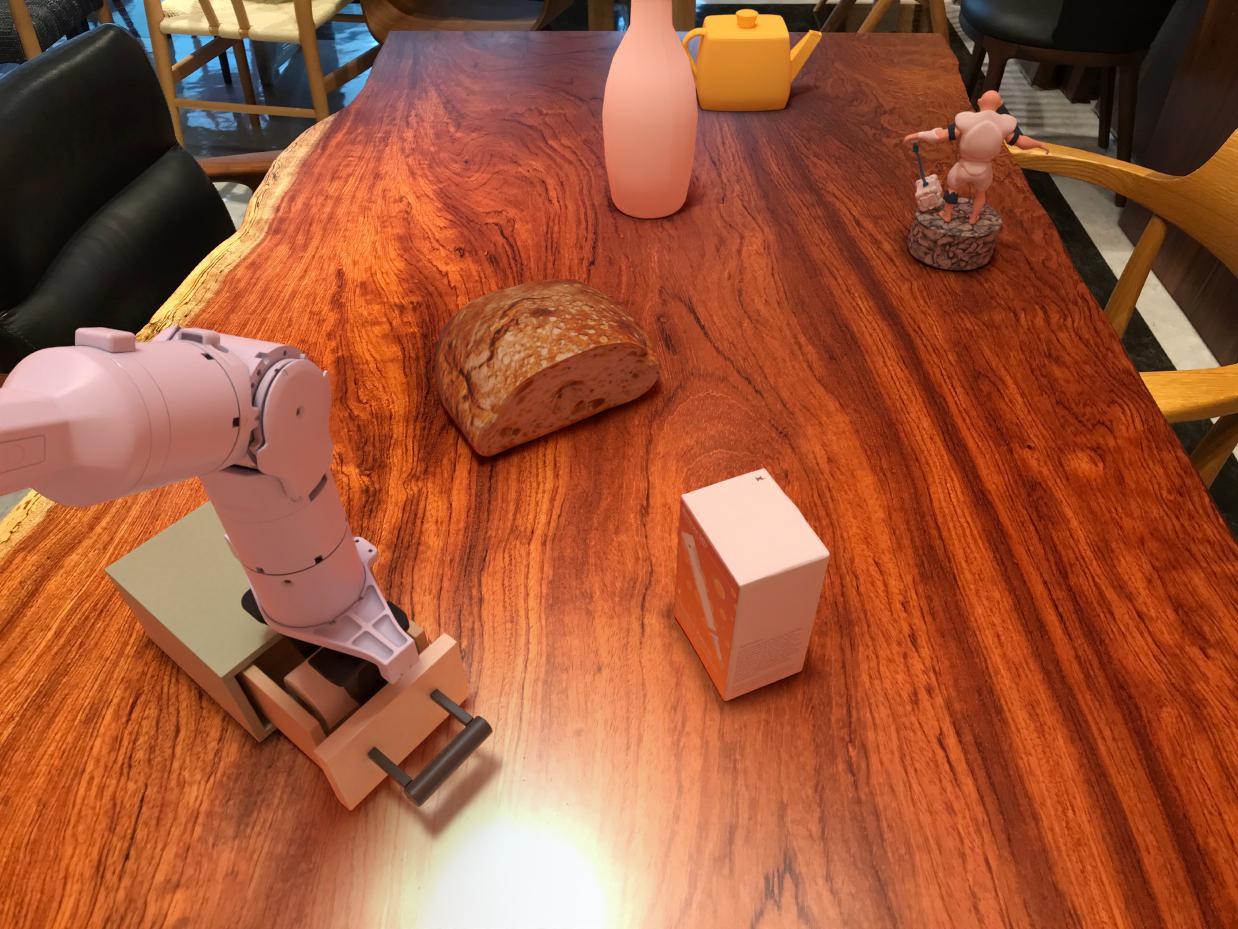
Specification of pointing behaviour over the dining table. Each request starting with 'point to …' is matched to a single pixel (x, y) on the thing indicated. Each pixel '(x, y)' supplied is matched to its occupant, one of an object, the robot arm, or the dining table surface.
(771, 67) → the teapot
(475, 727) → the drawer
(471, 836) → the dining table surface
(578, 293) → the bread
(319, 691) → the paper towel roll
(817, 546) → the small box
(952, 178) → the figurine
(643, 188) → the bottle
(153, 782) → the dining table surface
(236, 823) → the dining table surface
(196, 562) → the cabinet
